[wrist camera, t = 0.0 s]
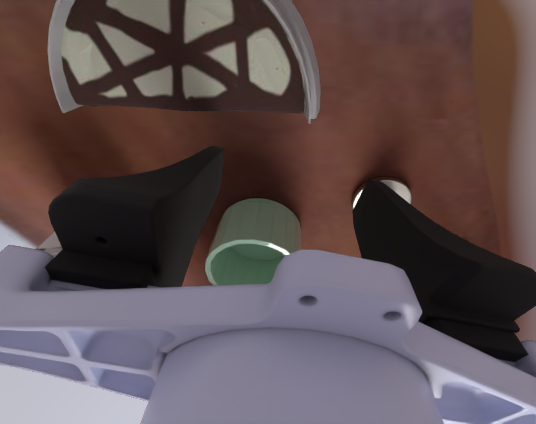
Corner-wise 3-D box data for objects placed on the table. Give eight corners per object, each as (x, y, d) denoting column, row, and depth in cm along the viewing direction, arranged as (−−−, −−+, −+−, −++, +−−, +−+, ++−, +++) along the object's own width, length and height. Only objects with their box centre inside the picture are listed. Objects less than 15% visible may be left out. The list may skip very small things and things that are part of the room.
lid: (392, 224, 27) (406, 255, 24) (343, 215, 27) (350, 244, 23) (420, 182, 24) (440, 210, 20) (364, 171, 23) (376, 197, 20)
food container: (323, -40, 15) (353, -90, 8) (311, 76, 19) (322, 124, 11) (120, -42, 16) (-47, -88, 8) (147, 71, 20) (51, 113, 12)
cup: (290, 265, 32) (289, 309, 27) (217, 251, 32) (203, 294, 27) (311, 207, 26) (315, 251, 22) (223, 190, 26) (207, 230, 21)
